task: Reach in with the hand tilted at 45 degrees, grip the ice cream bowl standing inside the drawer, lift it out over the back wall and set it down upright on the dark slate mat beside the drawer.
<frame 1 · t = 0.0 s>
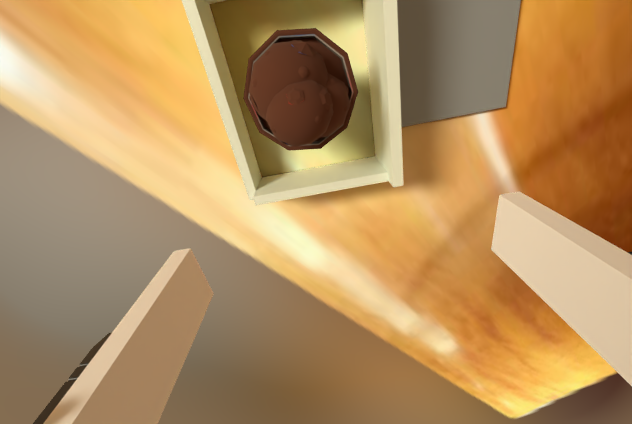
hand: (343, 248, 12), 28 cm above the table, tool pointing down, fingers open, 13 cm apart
drawer: (302, 89, 34), on the table
slate mat: (452, 58, 33), on the table
ice cream bowl: (302, 89, 34), resting in drawer
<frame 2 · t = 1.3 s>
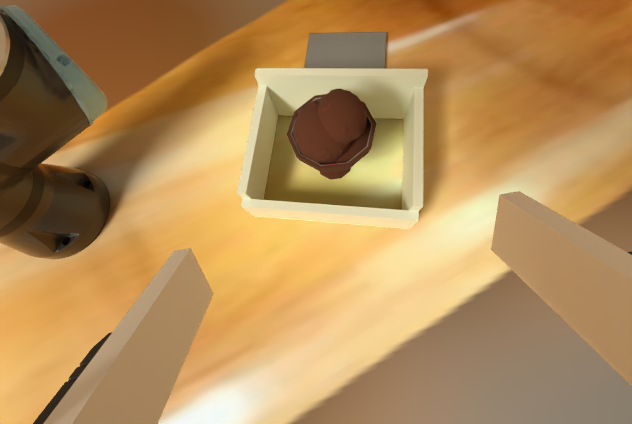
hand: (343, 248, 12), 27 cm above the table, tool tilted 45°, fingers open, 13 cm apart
drawer: (334, 163, 42), on the table
slate mat: (344, 66, 47), on the table
ice cream bowl: (334, 163, 42), resting in drawer
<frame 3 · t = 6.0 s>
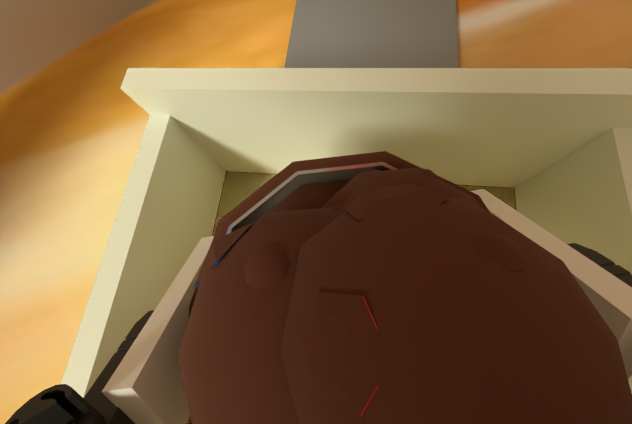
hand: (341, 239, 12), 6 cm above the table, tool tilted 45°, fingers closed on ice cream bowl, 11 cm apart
drawer: (350, 298, 17), on the table
slate mat: (367, 64, 22), on the table
ice cream bowl: (350, 298, 17), resting in drawer, touching gripper
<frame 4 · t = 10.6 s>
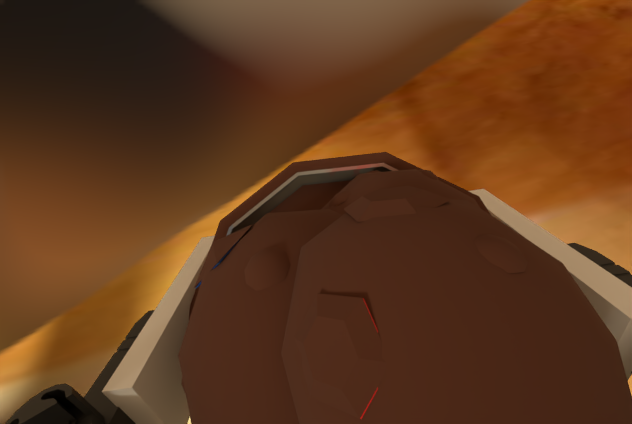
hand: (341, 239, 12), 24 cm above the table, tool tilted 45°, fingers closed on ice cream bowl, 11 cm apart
ice cream bowl: (350, 299, 17), point 18 cm above the table, touching gripper
when the fingers open (8 cm above the table, at t = 15.4 s): ice cream bowl drops 1 cm, resting on slate mat.
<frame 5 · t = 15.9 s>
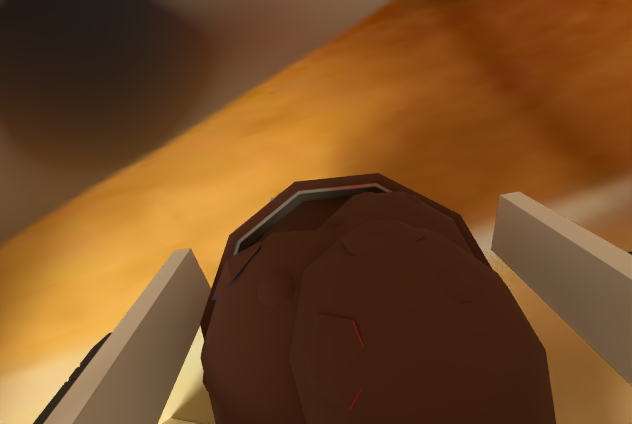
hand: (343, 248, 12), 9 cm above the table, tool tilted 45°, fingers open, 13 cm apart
ice cream bowl: (347, 299, 19), resting on slate mat
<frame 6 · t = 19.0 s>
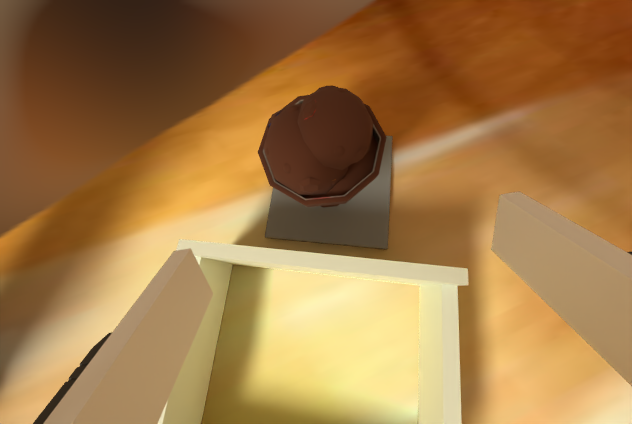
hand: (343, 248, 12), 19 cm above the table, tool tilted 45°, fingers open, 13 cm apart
drawer: (312, 358, 27), on the table
slate mat: (330, 186, 32), on the table
ice cream bowl: (328, 186, 32), resting on slate mat
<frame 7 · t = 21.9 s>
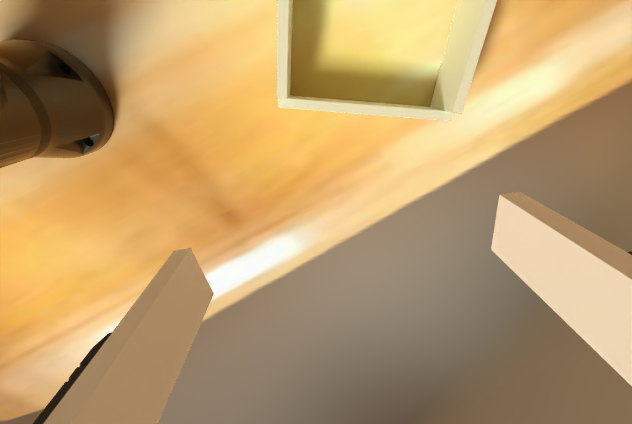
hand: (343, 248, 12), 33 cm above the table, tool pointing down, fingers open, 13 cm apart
drawer: (371, 32, 35), on the table
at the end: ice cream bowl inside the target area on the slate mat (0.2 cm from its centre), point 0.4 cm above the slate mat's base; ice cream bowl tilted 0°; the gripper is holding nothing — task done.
